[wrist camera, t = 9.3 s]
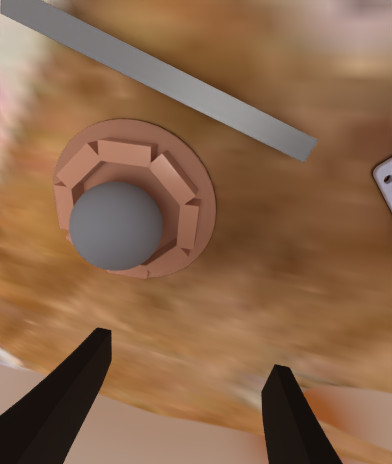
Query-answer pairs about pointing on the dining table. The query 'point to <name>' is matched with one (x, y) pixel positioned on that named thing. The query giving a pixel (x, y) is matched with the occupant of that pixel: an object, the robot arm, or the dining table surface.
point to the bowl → (142, 185)
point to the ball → (116, 226)
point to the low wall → (158, 75)
